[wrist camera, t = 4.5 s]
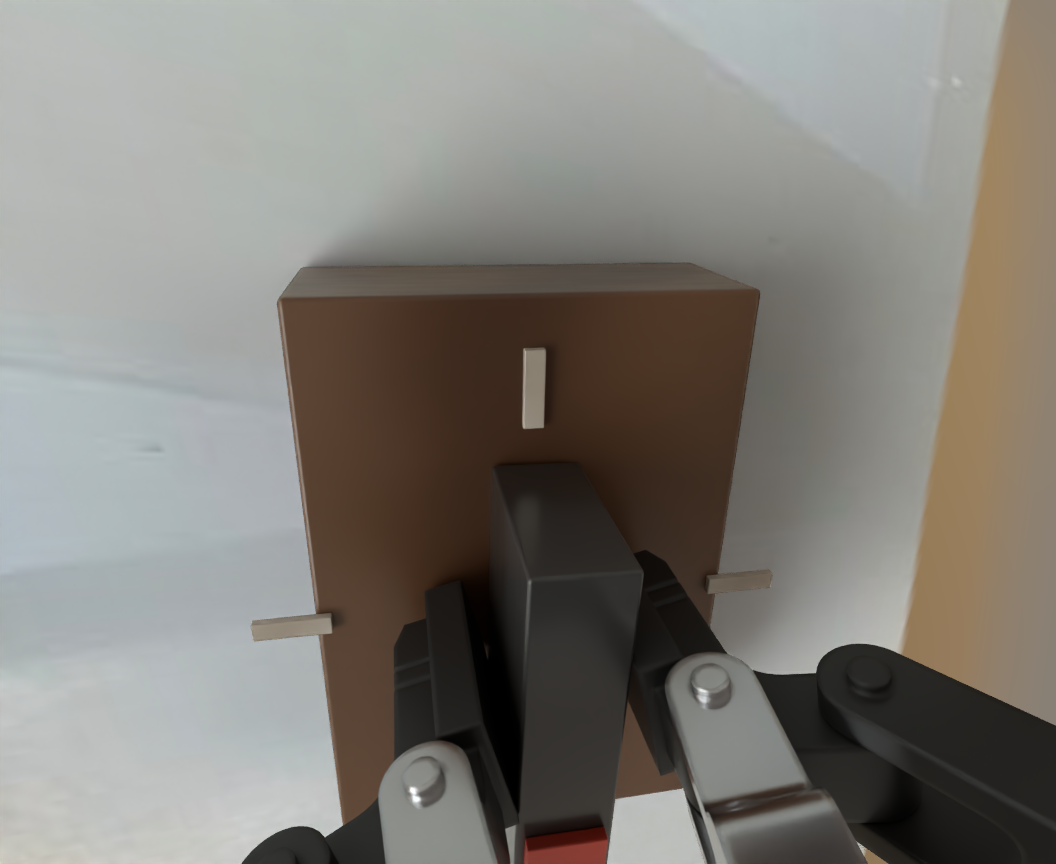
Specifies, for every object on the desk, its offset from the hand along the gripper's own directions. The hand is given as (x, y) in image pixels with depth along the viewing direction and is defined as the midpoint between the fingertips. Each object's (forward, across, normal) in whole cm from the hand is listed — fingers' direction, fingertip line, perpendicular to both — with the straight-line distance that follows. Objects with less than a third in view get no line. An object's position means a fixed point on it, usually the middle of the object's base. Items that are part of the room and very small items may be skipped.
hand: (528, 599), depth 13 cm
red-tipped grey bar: (0, 0, 0) cm, 0 cm away
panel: (+3, 0, 0) cm, 3 cm away
